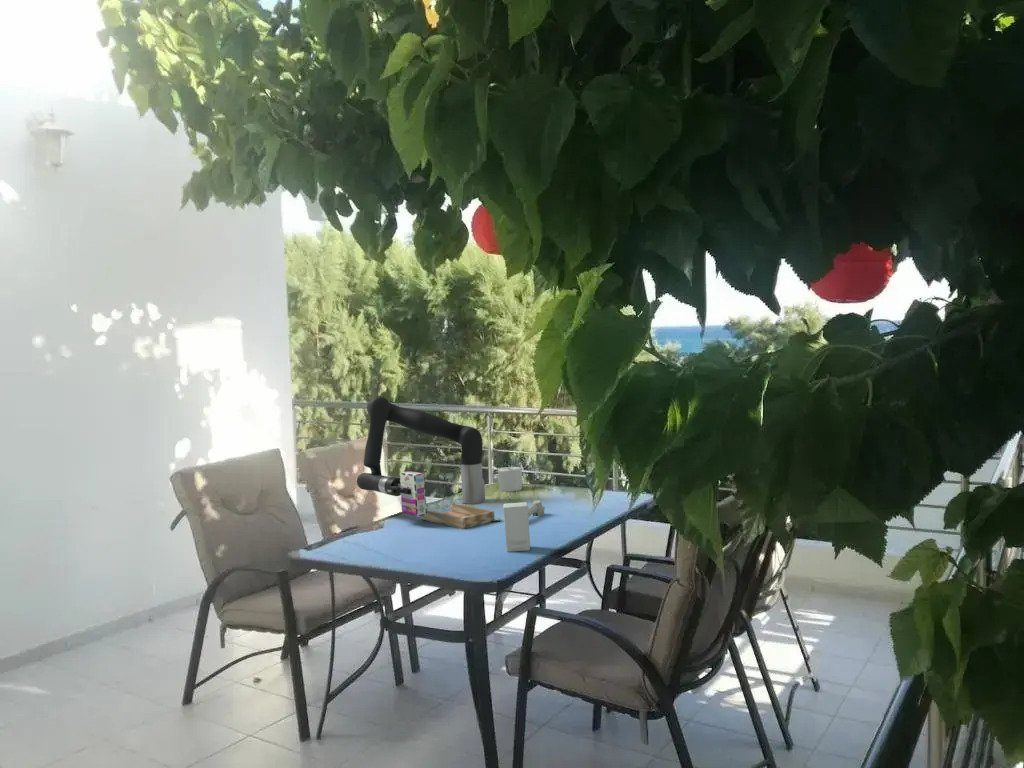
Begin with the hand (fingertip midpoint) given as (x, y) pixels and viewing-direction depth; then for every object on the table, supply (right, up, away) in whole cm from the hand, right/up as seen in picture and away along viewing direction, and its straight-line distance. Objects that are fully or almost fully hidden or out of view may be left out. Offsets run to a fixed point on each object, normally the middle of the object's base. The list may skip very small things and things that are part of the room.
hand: (416, 490), depth 323 cm
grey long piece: (+44, -12, +1) cm, 45 cm away
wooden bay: (+16, -13, +6) cm, 21 cm away
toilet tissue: (+37, -8, +66) cm, 76 cm away
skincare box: (+40, -15, -42) cm, 59 cm away
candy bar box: (-1, -10, +2) cm, 10 cm away
